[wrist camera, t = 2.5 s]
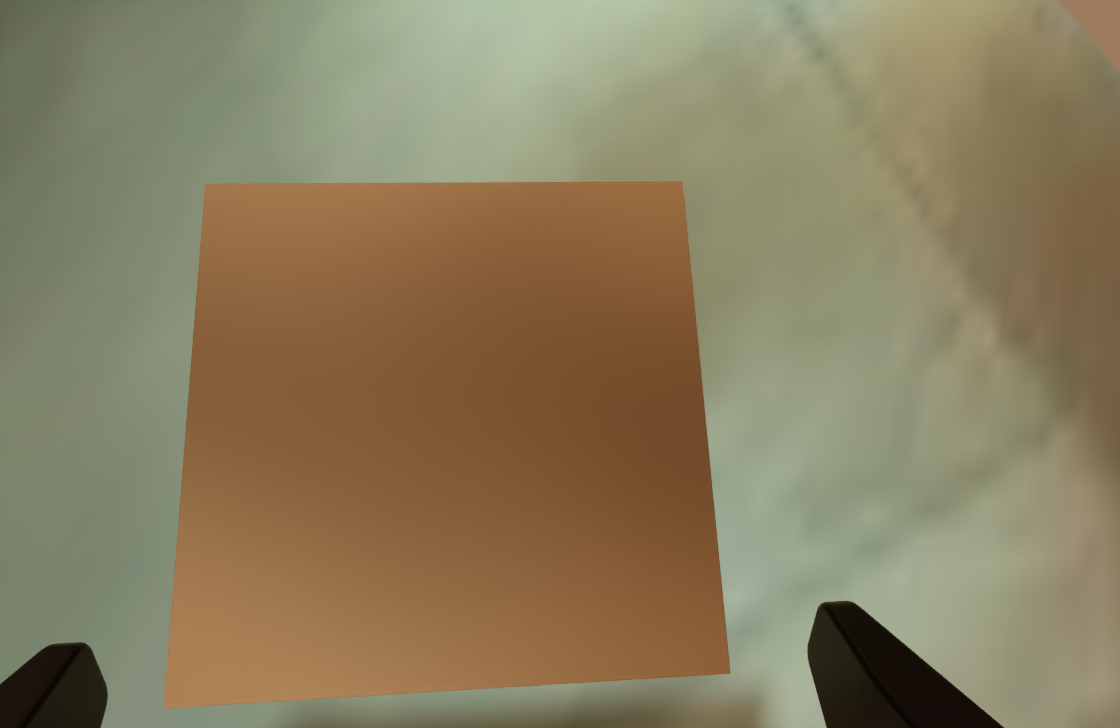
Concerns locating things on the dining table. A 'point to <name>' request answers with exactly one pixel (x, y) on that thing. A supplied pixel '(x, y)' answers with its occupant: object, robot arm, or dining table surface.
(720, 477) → the dining table surface
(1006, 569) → the dining table surface
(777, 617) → the dining table surface
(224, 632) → the oak brick
